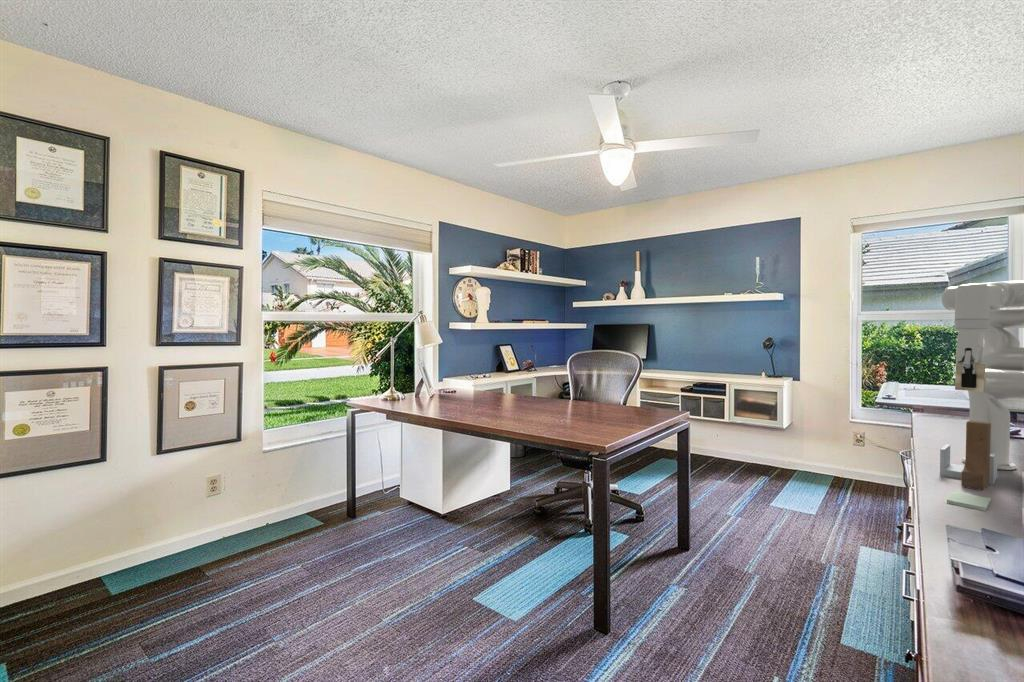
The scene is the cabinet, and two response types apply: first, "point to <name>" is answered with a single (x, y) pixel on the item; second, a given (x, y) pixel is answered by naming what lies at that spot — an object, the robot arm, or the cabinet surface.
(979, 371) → the beech block
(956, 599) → the cabinet surface
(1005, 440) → the robot arm
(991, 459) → the slot guard
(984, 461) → the wooden block
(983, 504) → the mat
